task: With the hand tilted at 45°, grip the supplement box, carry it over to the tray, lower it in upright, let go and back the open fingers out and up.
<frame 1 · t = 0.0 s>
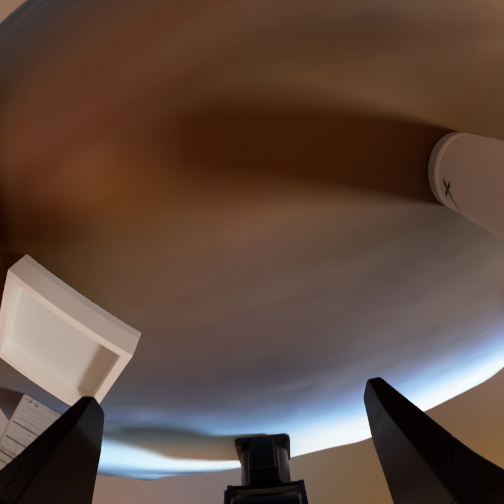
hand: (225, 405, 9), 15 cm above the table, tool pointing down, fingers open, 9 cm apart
travel mug: (454, 171, 21), on the table
tray: (62, 336, 26), on the table
supplement box: (45, 415, 32), on the table
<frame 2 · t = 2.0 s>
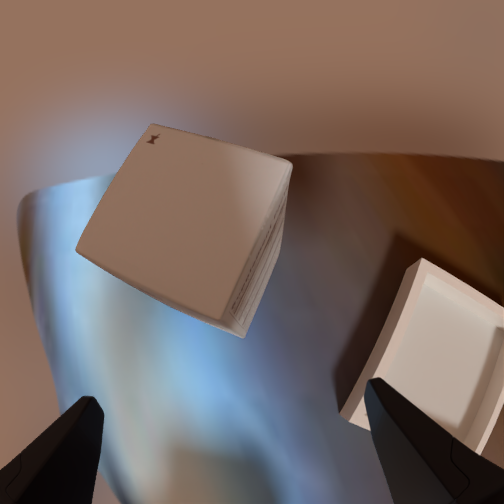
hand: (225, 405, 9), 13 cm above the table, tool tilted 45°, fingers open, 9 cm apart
tray: (438, 370, 21), on the table
supplement box: (220, 279, 24), on the table
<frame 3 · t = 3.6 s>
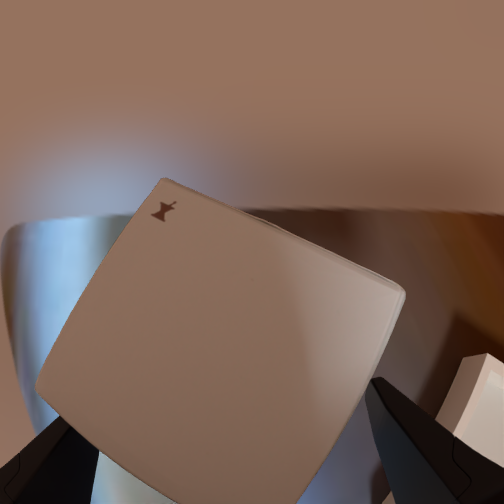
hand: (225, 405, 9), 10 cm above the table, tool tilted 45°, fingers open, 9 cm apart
tray: (478, 463, 14), on the table
supplement box: (244, 370, 18), on the table, touching gripper
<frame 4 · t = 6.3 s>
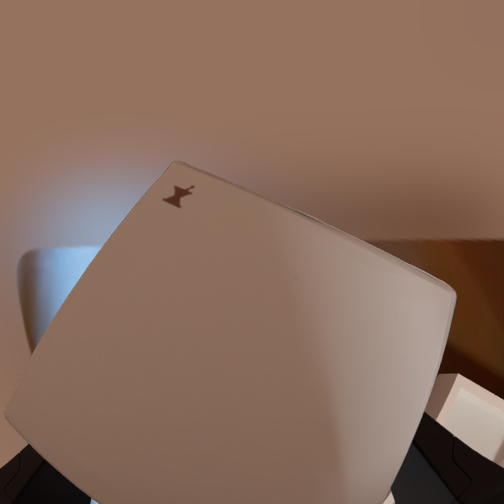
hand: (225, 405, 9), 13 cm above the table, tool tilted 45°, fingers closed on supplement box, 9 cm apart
tray: (452, 465, 17), on the table
supplement box: (238, 396, 16), point 5 cm above the table, touching gripper
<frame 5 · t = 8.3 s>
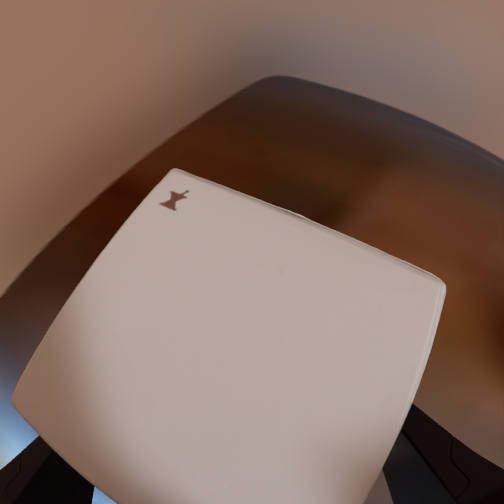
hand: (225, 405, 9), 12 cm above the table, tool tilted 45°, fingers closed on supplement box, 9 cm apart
supplement box: (247, 400, 16), point 4 cm above the table, touching gripper
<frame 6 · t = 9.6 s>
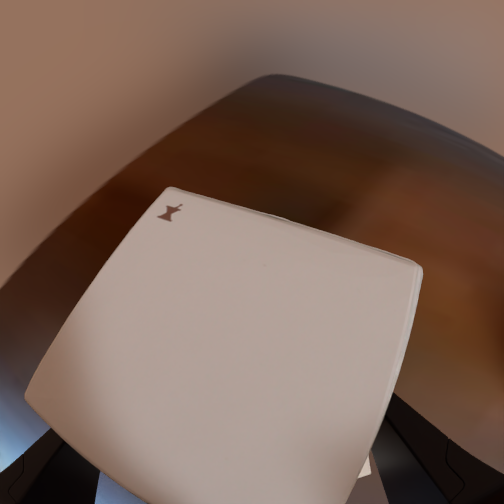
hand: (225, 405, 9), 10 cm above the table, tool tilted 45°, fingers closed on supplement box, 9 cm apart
supplement box: (256, 413, 16), point 2 cm above the table, touching gripper, tray
when the fingers open (10 cm above the table, at t = 9.8 s): supplement box stays where it is, resting on tray.
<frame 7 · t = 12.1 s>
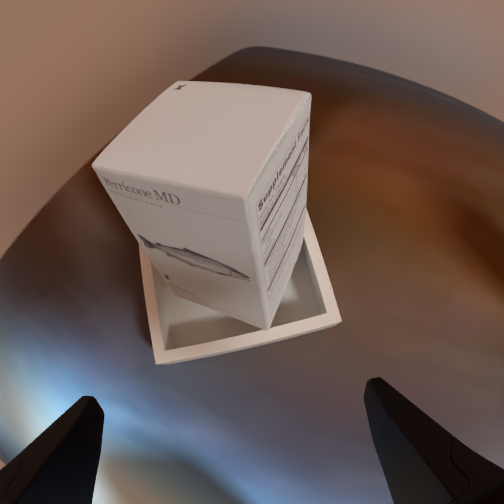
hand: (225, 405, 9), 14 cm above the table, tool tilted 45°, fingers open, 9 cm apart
tray: (232, 268, 25), on the table
supplement box: (241, 272, 23), point 2 cm above the table, touching tray
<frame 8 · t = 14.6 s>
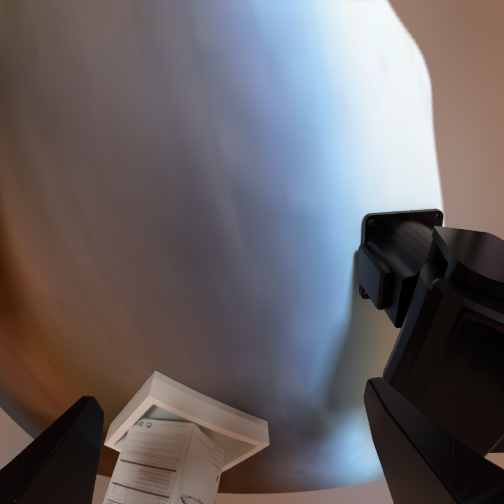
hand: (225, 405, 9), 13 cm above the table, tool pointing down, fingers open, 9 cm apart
tray: (183, 426, 29), on the table
supplement box: (180, 433, 27), point 2 cm above the table, touching tray
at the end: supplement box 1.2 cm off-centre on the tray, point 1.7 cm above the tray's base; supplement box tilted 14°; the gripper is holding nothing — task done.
